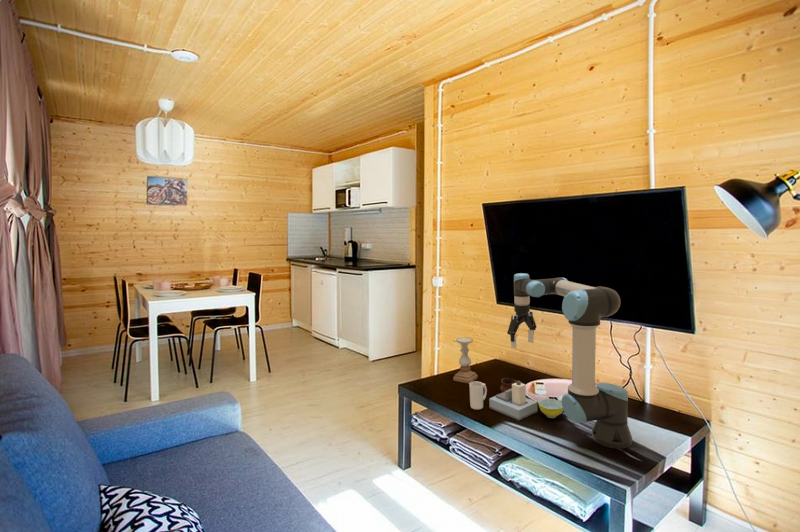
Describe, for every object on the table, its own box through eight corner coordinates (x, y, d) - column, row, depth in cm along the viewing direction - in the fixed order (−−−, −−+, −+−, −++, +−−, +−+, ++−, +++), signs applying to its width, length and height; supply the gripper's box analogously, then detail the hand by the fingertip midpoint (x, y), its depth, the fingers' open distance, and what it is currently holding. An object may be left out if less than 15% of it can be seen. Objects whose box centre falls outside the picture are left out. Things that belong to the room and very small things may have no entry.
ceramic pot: (525, 387, 243) (524, 374, 242) (526, 400, 226) (526, 387, 225) (492, 386, 247) (491, 374, 246) (490, 399, 230) (490, 386, 229)
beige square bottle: (518, 407, 215) (517, 379, 213) (525, 410, 211) (525, 381, 210) (512, 410, 212) (511, 381, 211) (519, 413, 209) (519, 383, 207)
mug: (475, 411, 215) (475, 387, 214) (467, 406, 221) (466, 383, 220) (491, 405, 220) (490, 382, 219) (482, 401, 226) (482, 378, 225)
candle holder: (452, 380, 257) (451, 340, 254) (461, 374, 266) (460, 336, 263) (469, 383, 250) (468, 343, 248) (478, 377, 259) (477, 338, 257)
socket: (537, 411, 212) (537, 401, 211) (518, 420, 203) (518, 410, 203) (508, 400, 226) (507, 390, 226) (489, 408, 218) (489, 398, 217)
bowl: (558, 424, 199) (558, 411, 198) (534, 417, 206) (534, 404, 206) (568, 415, 207) (568, 402, 206) (544, 408, 215) (544, 396, 214)
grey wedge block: (517, 397, 217) (517, 387, 216) (507, 401, 212) (507, 392, 212) (505, 392, 223) (505, 383, 222) (495, 396, 218) (495, 387, 218)
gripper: (531, 299, 232) (531, 338, 234) (499, 306, 217) (500, 348, 220) (543, 301, 226) (543, 341, 228) (511, 308, 211) (512, 351, 213)
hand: (522, 345), depth 224 cm, fingers open, 13 cm apart
